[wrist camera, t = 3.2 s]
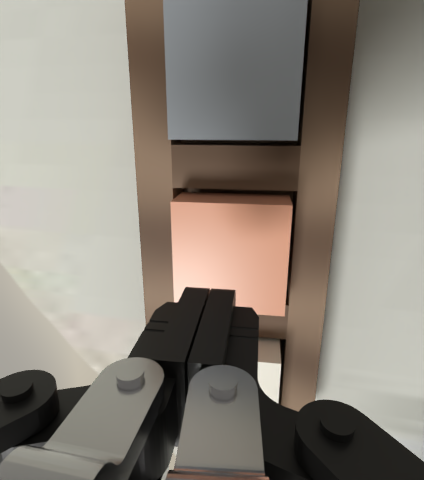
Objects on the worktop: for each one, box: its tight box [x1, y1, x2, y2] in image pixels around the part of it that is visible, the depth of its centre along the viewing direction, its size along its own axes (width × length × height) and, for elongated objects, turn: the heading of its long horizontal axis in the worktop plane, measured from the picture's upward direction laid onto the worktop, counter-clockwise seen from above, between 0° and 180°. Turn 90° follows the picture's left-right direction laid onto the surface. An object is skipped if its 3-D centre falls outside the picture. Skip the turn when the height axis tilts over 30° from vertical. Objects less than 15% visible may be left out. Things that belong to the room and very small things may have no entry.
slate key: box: [163, 0, 308, 141], centre depth 14 cm, size 5×5×2 cm
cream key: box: [258, 337, 281, 403], centre depth 19 cm, size 5×5×2 cm
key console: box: [125, 0, 360, 412], centre depth 18 cm, size 23×9×3 cm, turn 0°
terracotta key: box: [170, 192, 293, 317], centre depth 16 cm, size 5×5×2 cm
